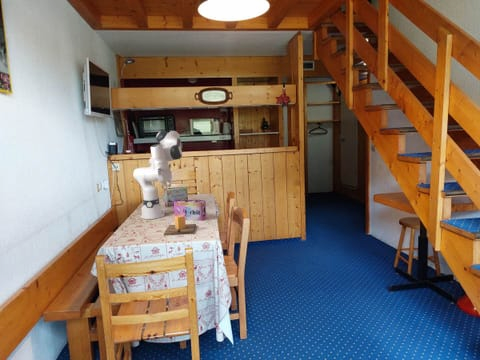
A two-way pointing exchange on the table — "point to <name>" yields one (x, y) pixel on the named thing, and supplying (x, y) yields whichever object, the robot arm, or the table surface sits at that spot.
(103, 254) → the table surface
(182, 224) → the upright amber block
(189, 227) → the walnut post board
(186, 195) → the snack box
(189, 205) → the gum box
